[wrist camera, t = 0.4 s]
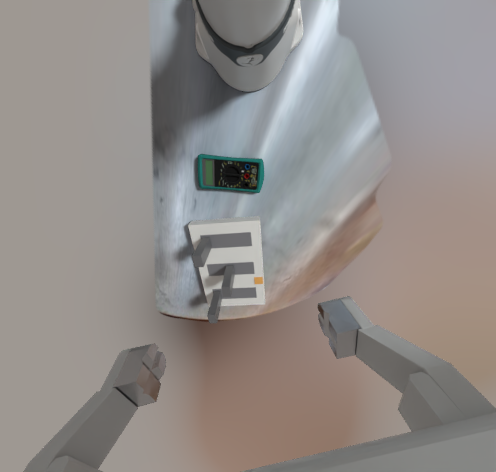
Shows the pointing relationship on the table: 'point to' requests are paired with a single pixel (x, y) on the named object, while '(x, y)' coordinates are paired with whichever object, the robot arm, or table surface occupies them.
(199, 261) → the handle
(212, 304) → the handle
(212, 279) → the box
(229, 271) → the post
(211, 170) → the digital multimeter
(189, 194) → the table surface
